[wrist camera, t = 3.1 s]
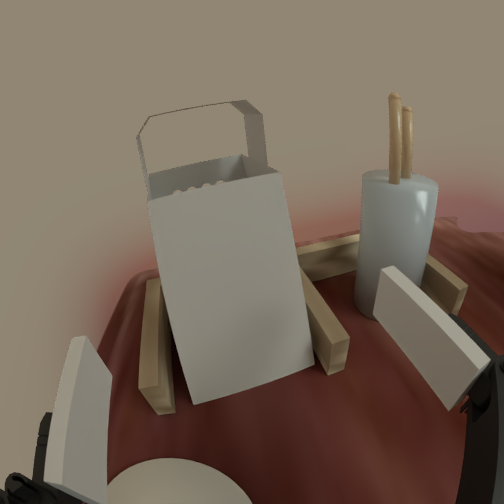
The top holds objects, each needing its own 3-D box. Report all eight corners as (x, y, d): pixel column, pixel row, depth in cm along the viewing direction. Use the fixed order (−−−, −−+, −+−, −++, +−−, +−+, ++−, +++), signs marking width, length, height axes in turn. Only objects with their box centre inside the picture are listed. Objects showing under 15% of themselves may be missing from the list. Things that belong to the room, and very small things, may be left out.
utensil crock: (391, 274, 31) (403, 95, 21) (426, 309, 25) (457, 101, 15) (342, 290, 30) (343, 90, 20) (374, 331, 24) (397, 91, 14)
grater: (175, 323, 29) (120, 125, 19) (269, 296, 31) (248, 100, 21) (193, 405, 20) (93, 130, 10) (314, 364, 22) (313, 94, 12)
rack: (387, 253, 35) (390, 226, 33) (456, 316, 23) (468, 285, 21) (157, 308, 31) (146, 280, 29) (157, 415, 19) (137, 388, 17)
